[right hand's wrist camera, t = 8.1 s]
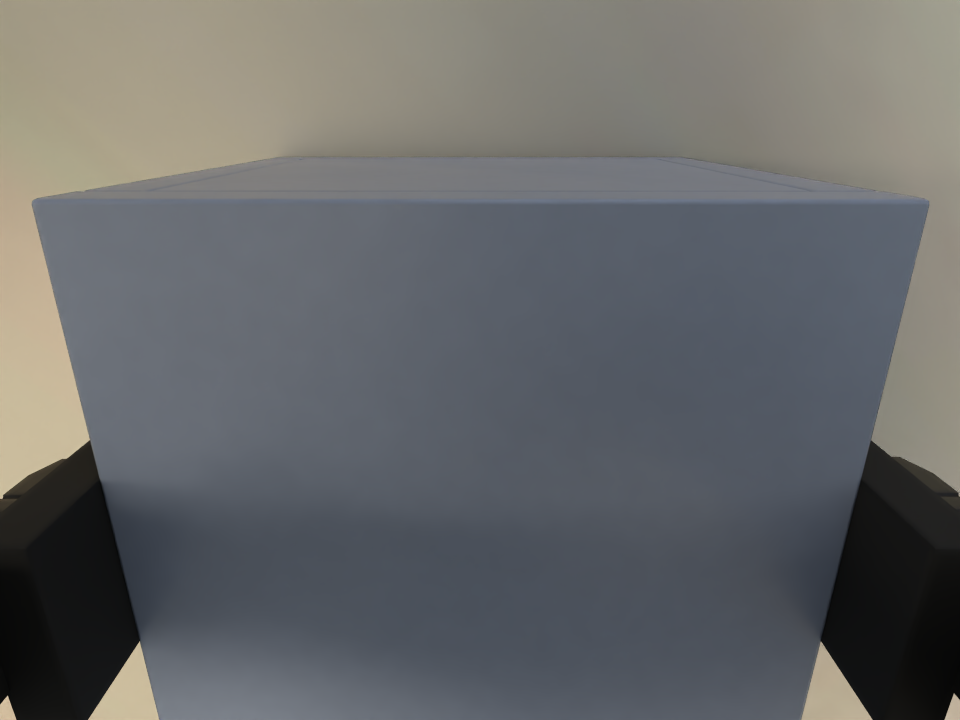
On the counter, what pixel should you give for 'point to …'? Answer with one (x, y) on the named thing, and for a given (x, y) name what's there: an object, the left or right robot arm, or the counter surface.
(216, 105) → the counter surface
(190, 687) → the cabinet
